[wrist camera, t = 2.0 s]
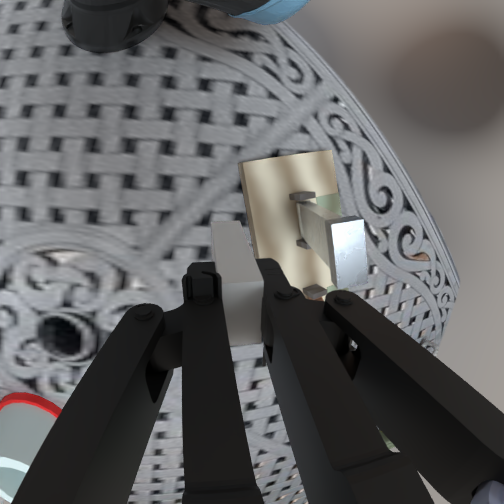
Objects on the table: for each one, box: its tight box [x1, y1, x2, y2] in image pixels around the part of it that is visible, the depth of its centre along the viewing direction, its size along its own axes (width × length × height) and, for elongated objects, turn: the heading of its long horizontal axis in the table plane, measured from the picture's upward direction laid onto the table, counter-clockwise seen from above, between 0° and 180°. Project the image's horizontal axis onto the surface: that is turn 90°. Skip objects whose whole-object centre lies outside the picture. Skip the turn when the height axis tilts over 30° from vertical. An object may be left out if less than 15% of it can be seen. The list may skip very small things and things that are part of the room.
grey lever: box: [296, 200, 368, 289], centre depth 34 cm, size 3×6×19 cm, turn 11°
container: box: [0, 392, 62, 503], centre depth 30 cm, size 16×16×15 cm
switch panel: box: [238, 150, 348, 301], centre depth 45 cm, size 14×32×5 cm, turn 11°
